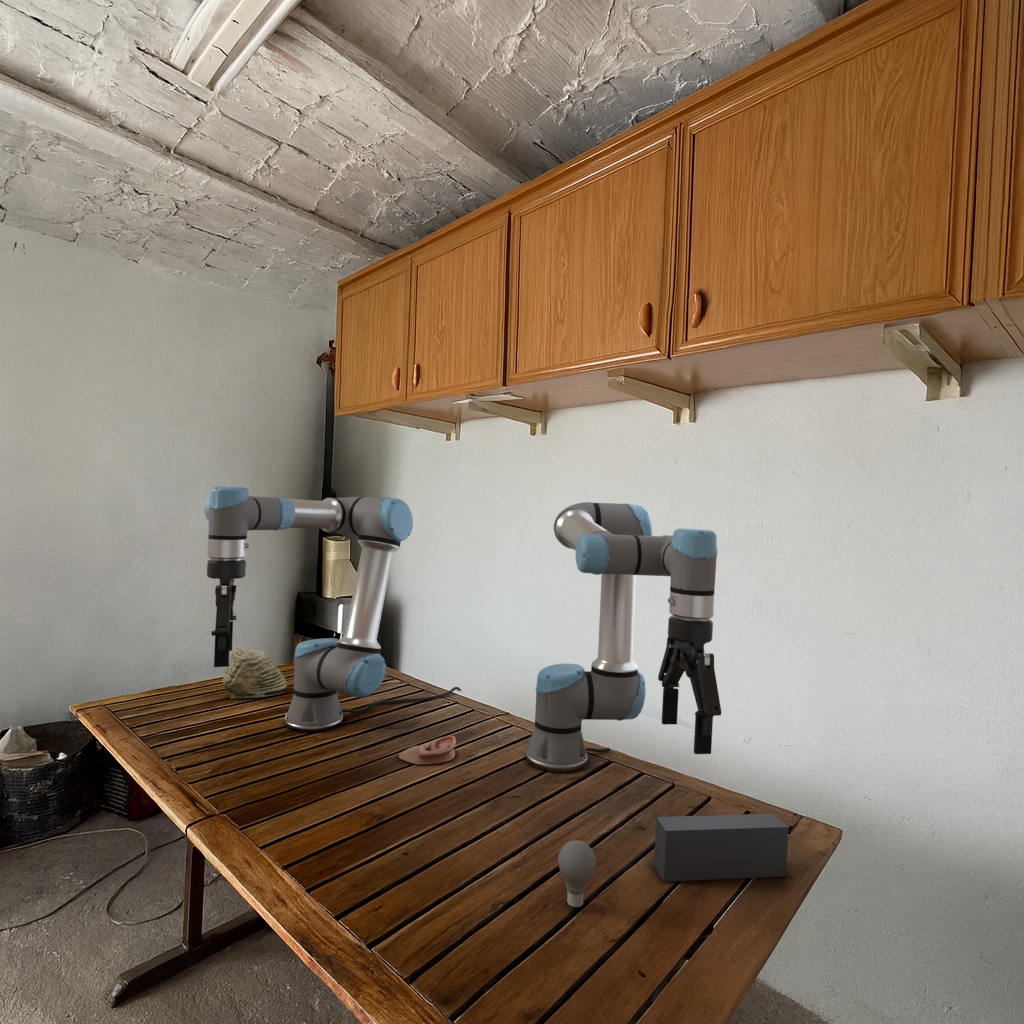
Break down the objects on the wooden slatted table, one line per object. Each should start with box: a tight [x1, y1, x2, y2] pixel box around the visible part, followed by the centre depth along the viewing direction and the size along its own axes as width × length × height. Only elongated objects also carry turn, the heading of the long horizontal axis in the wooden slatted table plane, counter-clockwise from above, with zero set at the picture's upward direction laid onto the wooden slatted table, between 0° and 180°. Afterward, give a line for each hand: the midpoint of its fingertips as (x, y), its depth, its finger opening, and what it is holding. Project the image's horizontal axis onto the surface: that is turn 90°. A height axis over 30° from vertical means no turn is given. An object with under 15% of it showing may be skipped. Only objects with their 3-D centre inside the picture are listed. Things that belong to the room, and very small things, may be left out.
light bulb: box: [557, 839, 597, 908], centre depth 101 cm, size 6×6×10 cm
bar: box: [653, 813, 789, 883], centre depth 113 cm, size 23×5×9 cm, turn 98°
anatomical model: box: [398, 735, 457, 766], centre depth 157 cm, size 13×4×12 cm
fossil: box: [222, 646, 288, 699], centre depth 198 cm, size 9×18×15 cm, turn 132°
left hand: (223, 658), depth 135 cm, fingers open, 13 cm apart
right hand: (684, 737), depth 111 cm, fingers open, 13 cm apart
